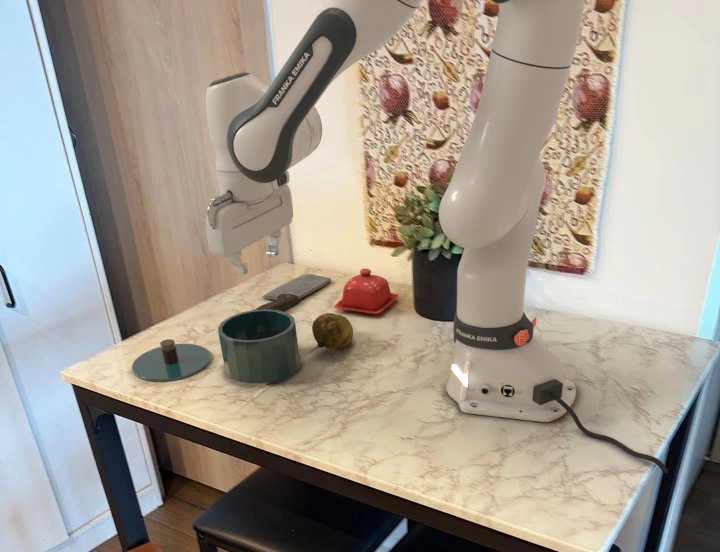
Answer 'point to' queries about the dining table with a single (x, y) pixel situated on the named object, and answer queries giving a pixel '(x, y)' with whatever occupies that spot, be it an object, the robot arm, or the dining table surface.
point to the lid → (171, 362)
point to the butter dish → (366, 294)
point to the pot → (259, 346)
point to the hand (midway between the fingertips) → (258, 264)
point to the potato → (332, 331)
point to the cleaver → (293, 291)
